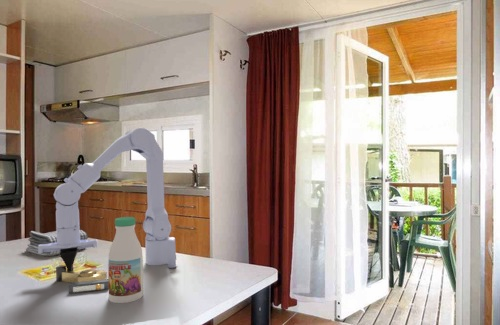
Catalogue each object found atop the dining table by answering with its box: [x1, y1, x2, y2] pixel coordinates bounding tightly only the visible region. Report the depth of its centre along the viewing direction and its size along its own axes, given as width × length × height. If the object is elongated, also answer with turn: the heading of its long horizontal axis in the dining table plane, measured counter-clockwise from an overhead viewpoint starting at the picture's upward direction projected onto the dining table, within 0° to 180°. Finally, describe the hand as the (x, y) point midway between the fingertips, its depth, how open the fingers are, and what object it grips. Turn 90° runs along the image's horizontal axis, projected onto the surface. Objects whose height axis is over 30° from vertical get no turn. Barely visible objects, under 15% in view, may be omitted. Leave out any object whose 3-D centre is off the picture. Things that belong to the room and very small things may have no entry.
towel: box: [25, 229, 89, 257], centre depth 133 cm, size 15×18×8 cm
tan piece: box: [55, 264, 108, 283], centre depth 92 cm, size 15×7×4 cm, turn 72°
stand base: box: [68, 278, 109, 295], centre depth 92 cm, size 16×16×3 cm
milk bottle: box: [107, 216, 144, 304], centre depth 82 cm, size 8×8×20 cm
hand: (69, 275), depth 95 cm, fingers closed, pressing on tan piece
